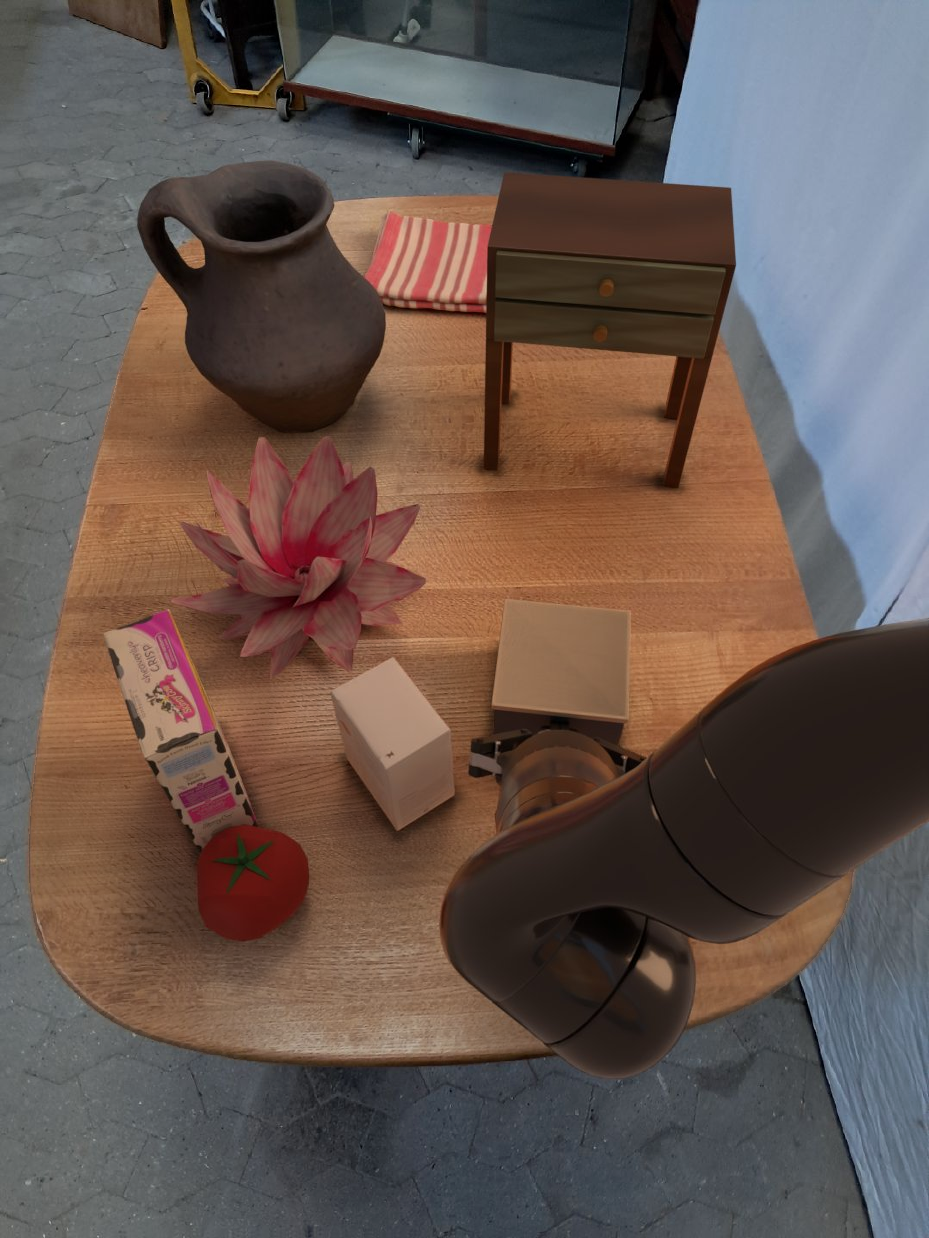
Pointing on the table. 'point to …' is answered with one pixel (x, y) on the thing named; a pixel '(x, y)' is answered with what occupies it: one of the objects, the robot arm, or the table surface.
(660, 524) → the table surface
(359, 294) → the pitcher
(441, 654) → the table surface
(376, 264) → the dish towel
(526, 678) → the storage box
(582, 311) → the drawer unit
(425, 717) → the small box
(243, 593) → the decorative flower
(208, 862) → the tomato
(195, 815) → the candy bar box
